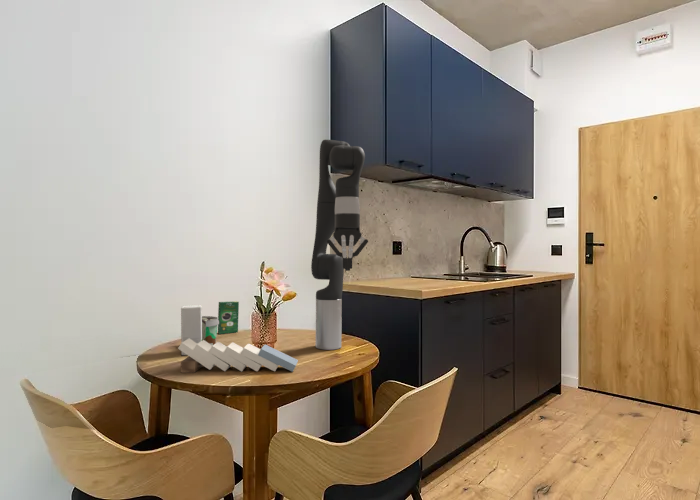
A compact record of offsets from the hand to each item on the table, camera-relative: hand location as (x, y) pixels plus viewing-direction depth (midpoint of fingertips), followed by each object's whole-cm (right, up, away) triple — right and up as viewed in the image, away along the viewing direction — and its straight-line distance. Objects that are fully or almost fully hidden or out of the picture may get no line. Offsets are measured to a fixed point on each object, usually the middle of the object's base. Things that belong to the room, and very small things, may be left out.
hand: (347, 270), depth 131 cm
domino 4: (-25, -28, -4) cm, 38 cm away
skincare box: (-53, -29, +15) cm, 62 cm away
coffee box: (-50, -29, +50) cm, 76 cm away
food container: (-50, -29, +26) cm, 63 cm away
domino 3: (-29, -28, -5) cm, 41 cm away
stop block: (-45, -28, -5) cm, 53 cm away
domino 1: (-38, -27, -5) cm, 47 cm away
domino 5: (-20, -28, -4) cm, 34 cm away
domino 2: (-34, -28, -5) cm, 44 cm away
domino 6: (-15, -28, -4) cm, 32 cm away
